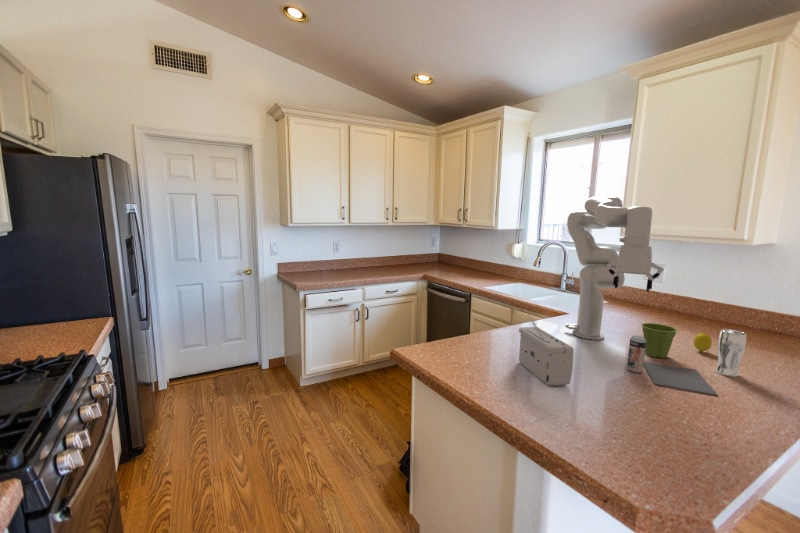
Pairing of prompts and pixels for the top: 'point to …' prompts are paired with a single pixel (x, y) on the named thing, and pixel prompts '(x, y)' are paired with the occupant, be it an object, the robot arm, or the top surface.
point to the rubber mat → (678, 378)
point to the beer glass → (730, 351)
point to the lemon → (702, 342)
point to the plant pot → (658, 339)
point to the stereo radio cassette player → (545, 356)
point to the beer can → (636, 354)
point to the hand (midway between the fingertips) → (631, 289)
